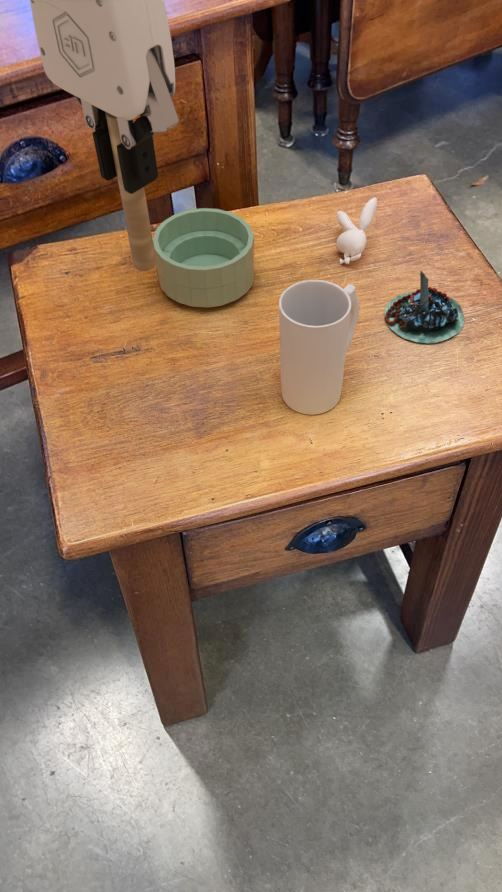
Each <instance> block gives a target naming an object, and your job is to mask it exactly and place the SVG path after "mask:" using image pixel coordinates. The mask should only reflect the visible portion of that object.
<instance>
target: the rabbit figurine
mask: <svg viewBox="0 0 502 892" xmlns="http://www.w3.org/2000/svg"><path fill="white" fill-rule="evenodd" d="M377 207H378V199H377V197H375V196H374V197H371V198H370V199H369V200H368V201H367V202H365V205H364V206H363V208H362V210H361V212H360V216H359V220H358V227H359V228H358V227H357V226H356V225H355V224H354V223H353V221H352V220H351V219H350V217H349V214H347V213H346V212H345V211H342V210H338V211H337V212H336V219H337V222H338V224H339V226H340V227H341V229H343V230H344V232H342V233H341V234H340V235H339V236H337V239H336V242H335V247H336V249H337V251H338V252H340V253H342V254H343V258H344V259H342V258H339V266H341V265H343V264H345V265H349V264H350V262H354V261H357V260H360V259H361V257H362V252H364V250H365V249H366V246H367V235H366V233H365V231H366V230H368V229H369V228H370V227H371V225H372V223H373V220H374V217H375V215H376V211H377Z"/></svg>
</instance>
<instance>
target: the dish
mask: <svg viewBox="0 0 502 892" xmlns="http://www.w3.org/2000/svg"><path fill="white" fill-rule="evenodd" d="M419 276H420V277H419V278H420V279H419V280H420V281H419V282H420V287H419V288H418V289H416V290H415V291H409V292H405V293H402V294H399V295H397V296H395V297H394V298H393V299H391V300H390V301H389V302H388V303H387V305H386V307H385V309H384V316H383V317H384V321H385V322H386V325H387V327H388V328H389V329H390V330H391V331H393V332H394V334H396V335H398V336H399V337H401V338H402V339H404V340H409V341H411V342H415V343H420V344H421V343H422V344H436V343H439V342H444V341H445V340H446V341H447V340H448V339H450V338H452V337H454V336H456V335H458V334H459V333H460V332H461V331H462V329H463V327H464V323H465V316H464V311H463V309H462V306H461V305H460V303H459V302H457V301H456V300H455V299H454V298H452V297H450V296H448V294H447V293H446V292H442V291H441V290H440V291H439V290H438V289H437V287H431V286H429V278H428V277H427V275H426V274H425V273H424V272H423V270H420V273H419Z"/></svg>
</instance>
